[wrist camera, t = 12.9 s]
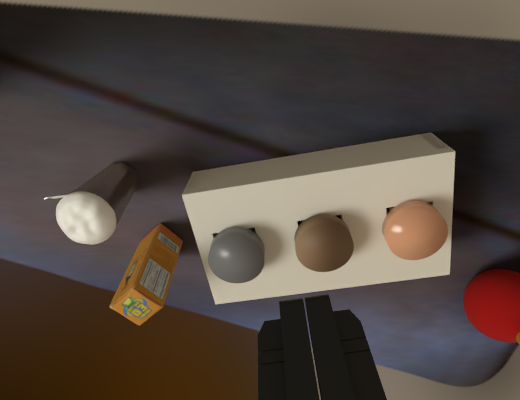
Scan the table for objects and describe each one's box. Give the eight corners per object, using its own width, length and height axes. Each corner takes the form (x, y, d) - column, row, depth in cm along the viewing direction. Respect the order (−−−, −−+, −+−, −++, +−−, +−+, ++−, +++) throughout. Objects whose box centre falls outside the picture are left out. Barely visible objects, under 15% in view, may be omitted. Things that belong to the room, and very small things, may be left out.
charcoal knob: (223, 246, 39) (215, 286, 34) (212, 205, 37) (201, 241, 32) (269, 239, 39) (268, 279, 33) (260, 198, 37) (258, 233, 31)
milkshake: (122, 139, 35) (71, 185, 26) (155, 187, 37) (118, 244, 28) (83, 160, 36) (21, 210, 27) (117, 205, 38) (70, 265, 29)
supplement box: (166, 259, 41) (137, 329, 32) (141, 239, 40) (103, 306, 31) (186, 241, 40) (162, 309, 31) (161, 220, 39) (129, 284, 30)
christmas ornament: (440, 276, 41) (487, 351, 32) (504, 243, 39) (573, 313, 30) (468, 316, 43) (519, 396, 35) (530, 287, 41) (601, 364, 32)
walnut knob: (295, 235, 39) (299, 275, 33) (288, 193, 36) (291, 228, 31) (343, 229, 38) (355, 268, 32) (338, 186, 36) (351, 219, 30)
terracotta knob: (370, 225, 38) (388, 263, 32) (367, 181, 36) (386, 214, 30) (419, 217, 37) (447, 256, 32) (420, 173, 35) (449, 205, 29)
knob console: (221, 272, 41) (215, 304, 37) (192, 171, 36) (181, 195, 32) (429, 244, 39) (449, 274, 35) (430, 132, 34) (455, 151, 29)
